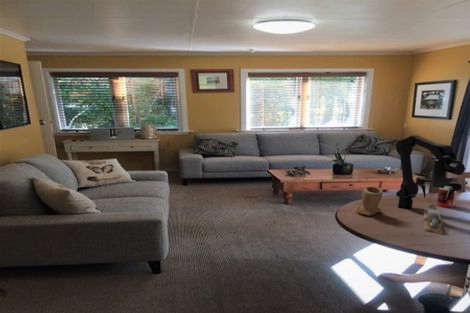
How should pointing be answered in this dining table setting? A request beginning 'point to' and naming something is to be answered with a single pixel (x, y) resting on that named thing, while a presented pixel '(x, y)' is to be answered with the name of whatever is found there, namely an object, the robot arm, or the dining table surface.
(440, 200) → the canned food
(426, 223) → the shaft bench
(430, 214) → the block
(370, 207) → the stone cup
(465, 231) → the dining table surface
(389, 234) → the dining table surface
